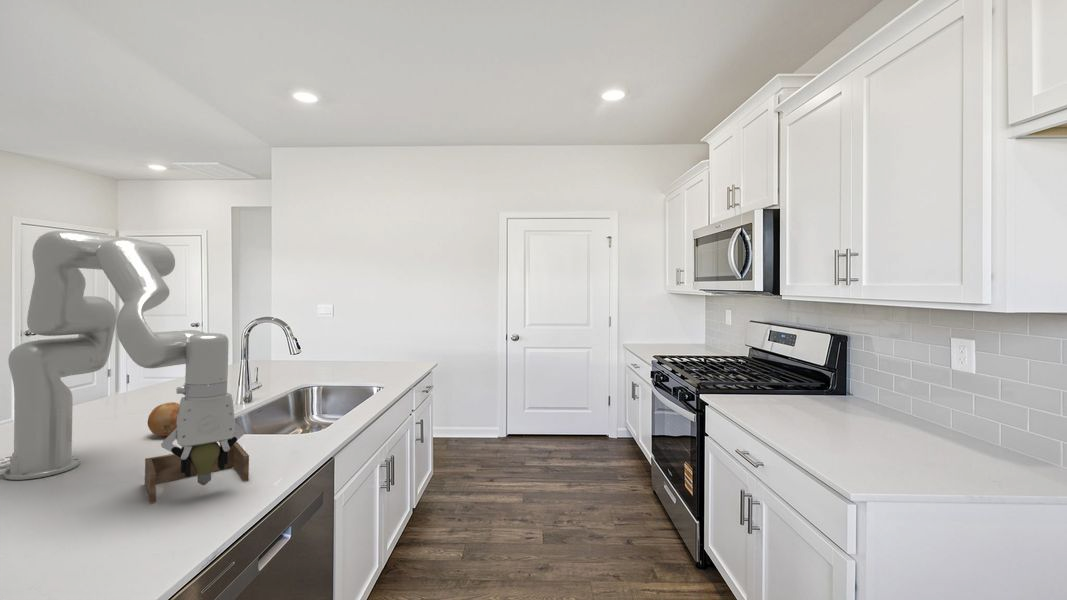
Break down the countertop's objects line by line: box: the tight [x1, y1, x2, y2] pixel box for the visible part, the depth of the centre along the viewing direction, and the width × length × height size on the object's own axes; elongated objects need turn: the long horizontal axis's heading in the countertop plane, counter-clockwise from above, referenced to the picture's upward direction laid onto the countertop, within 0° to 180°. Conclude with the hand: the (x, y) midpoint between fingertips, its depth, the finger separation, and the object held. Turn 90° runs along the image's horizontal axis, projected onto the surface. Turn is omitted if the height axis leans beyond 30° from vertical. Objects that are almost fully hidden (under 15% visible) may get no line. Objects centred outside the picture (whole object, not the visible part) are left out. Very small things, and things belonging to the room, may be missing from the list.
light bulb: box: [189, 442, 220, 486], centre depth 99 cm, size 6×6×10 cm
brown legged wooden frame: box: [144, 441, 250, 504], centre depth 105 cm, size 18×12×6 cm, turn 135°
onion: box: [147, 401, 180, 437], centre depth 136 cm, size 10×10×10 cm
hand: (204, 470), depth 99 cm, fingers closed on light bulb, 5 cm apart
